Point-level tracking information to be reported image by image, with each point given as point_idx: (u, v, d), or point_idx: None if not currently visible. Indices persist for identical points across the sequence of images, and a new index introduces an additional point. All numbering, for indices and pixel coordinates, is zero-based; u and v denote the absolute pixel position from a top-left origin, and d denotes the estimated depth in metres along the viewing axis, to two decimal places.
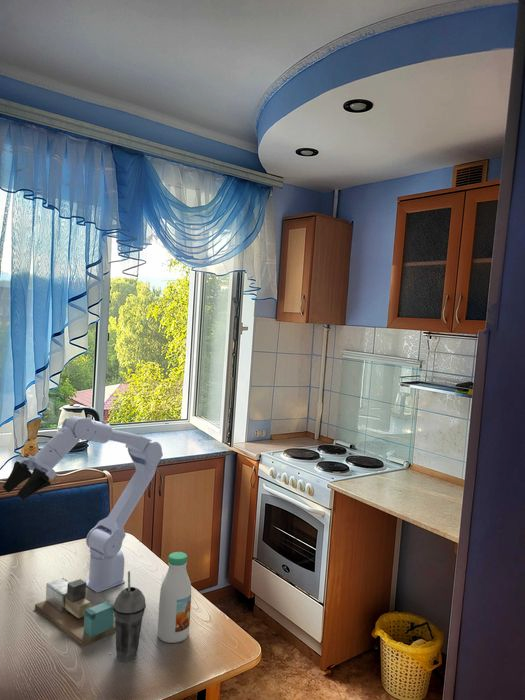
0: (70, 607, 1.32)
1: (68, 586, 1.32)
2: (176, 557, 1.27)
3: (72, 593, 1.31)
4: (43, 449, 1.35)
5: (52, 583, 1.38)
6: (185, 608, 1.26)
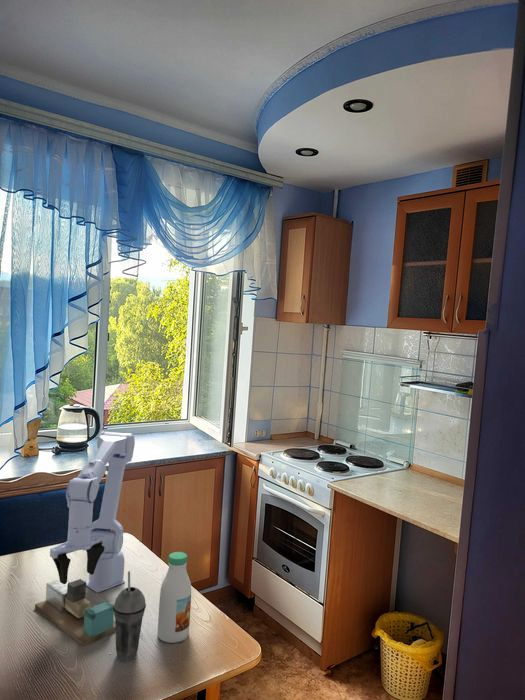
0: (70, 607, 1.32)
1: (68, 586, 1.32)
2: (176, 557, 1.27)
3: (72, 593, 1.31)
4: (86, 533, 1.31)
5: (52, 583, 1.38)
6: (185, 608, 1.26)
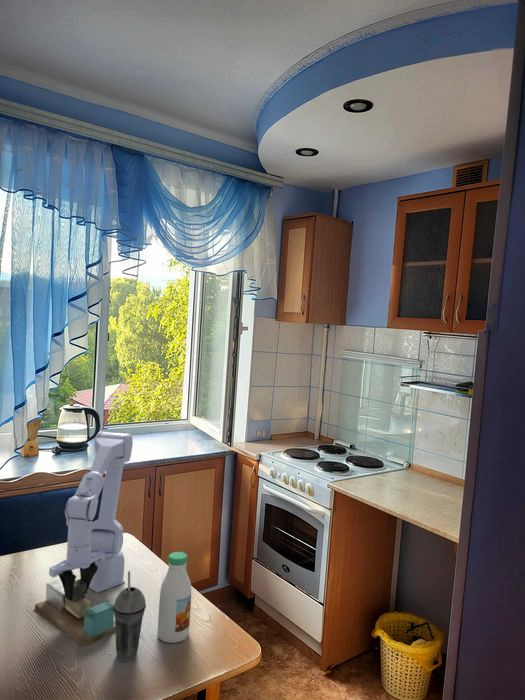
0: (70, 607, 1.32)
1: None
2: (176, 557, 1.27)
3: None
4: (85, 551, 1.31)
5: (52, 583, 1.38)
6: (185, 608, 1.26)
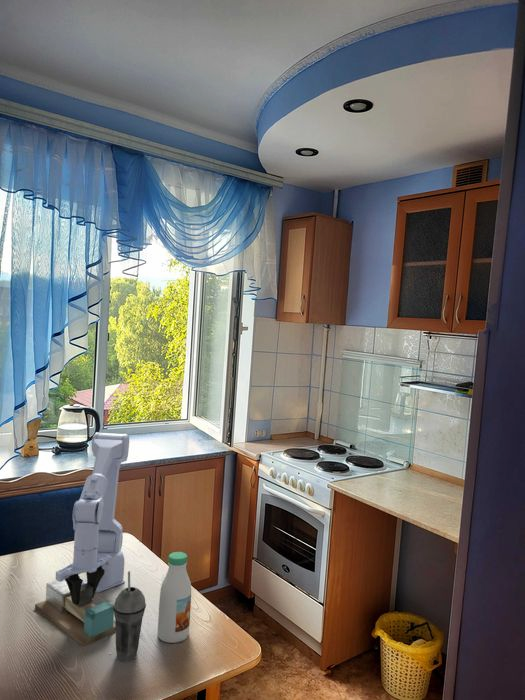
0: (77, 612, 1.30)
1: None
2: (176, 557, 1.27)
3: None
4: (92, 555, 1.29)
5: (52, 583, 1.38)
6: (185, 608, 1.26)
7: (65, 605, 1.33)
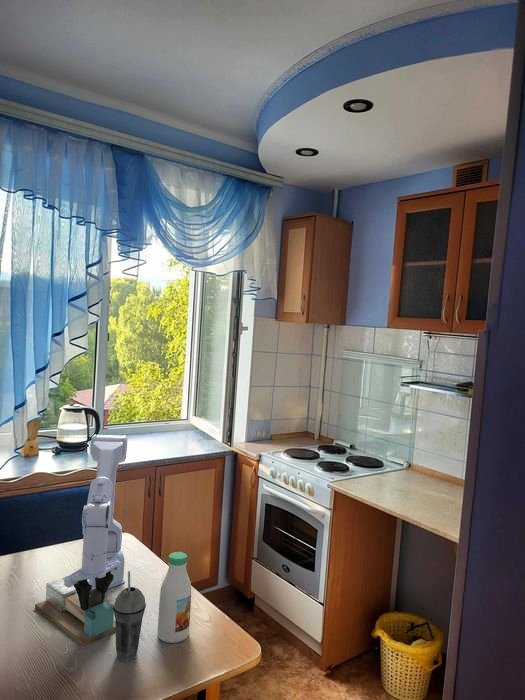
0: None
1: None
2: (176, 557, 1.27)
3: None
4: (101, 560, 1.27)
5: (52, 583, 1.38)
6: (185, 608, 1.26)
7: (73, 611, 1.31)
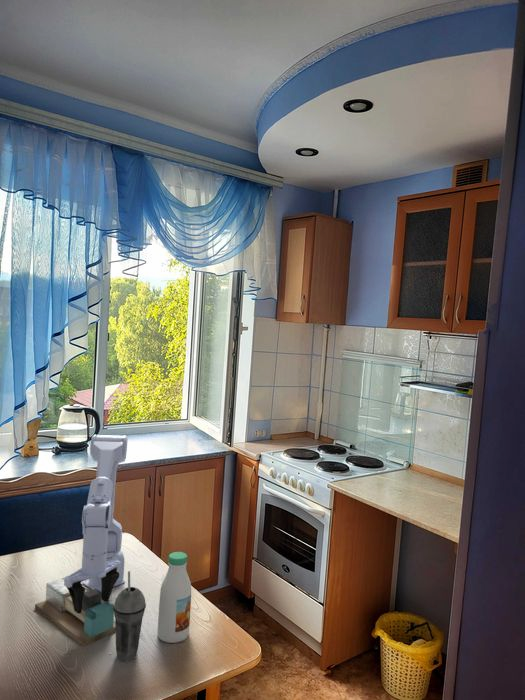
0: None
1: (83, 596, 1.28)
2: (176, 557, 1.27)
3: (87, 604, 1.26)
4: (101, 560, 1.27)
5: (52, 583, 1.38)
6: (185, 608, 1.26)
7: (73, 611, 1.31)
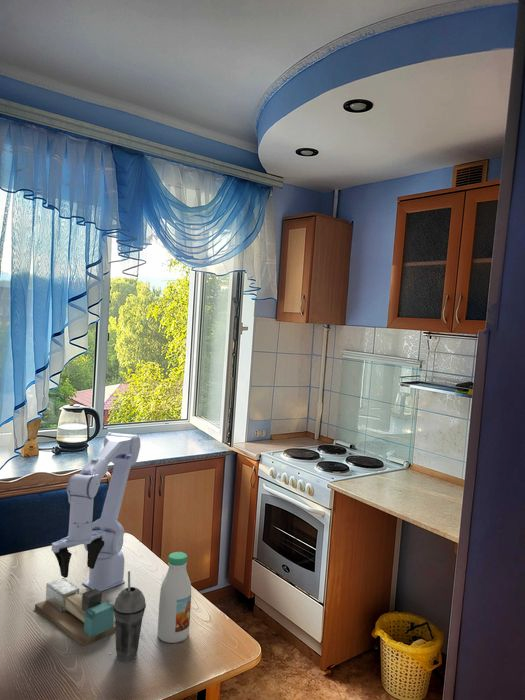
0: None
1: (83, 596, 1.28)
2: (176, 557, 1.27)
3: (87, 604, 1.26)
4: (87, 528, 1.34)
5: (52, 583, 1.38)
6: (185, 608, 1.26)
7: (73, 611, 1.31)
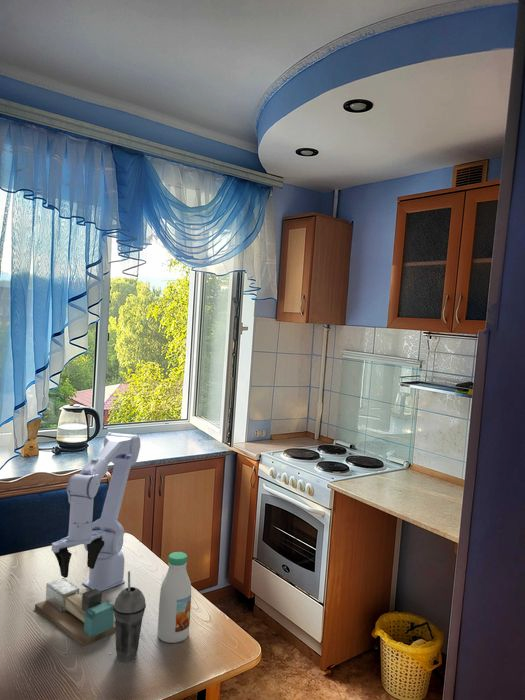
0: None
1: (83, 596, 1.28)
2: (176, 557, 1.27)
3: (87, 604, 1.26)
4: (87, 528, 1.34)
5: (52, 583, 1.38)
6: (185, 608, 1.26)
7: (73, 611, 1.31)
